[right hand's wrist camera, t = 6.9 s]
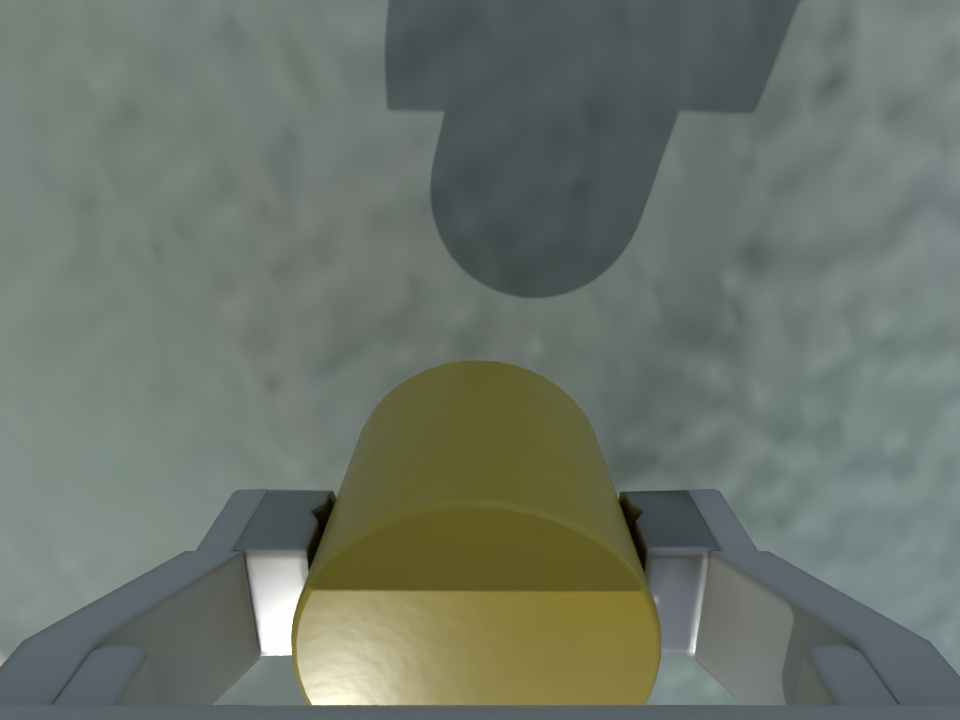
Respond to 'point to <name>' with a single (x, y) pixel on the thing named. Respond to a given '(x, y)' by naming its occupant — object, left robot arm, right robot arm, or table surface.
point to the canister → (476, 557)
